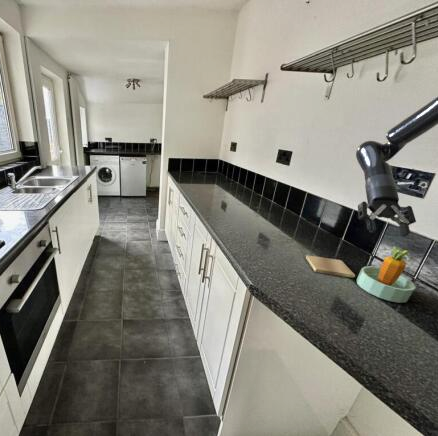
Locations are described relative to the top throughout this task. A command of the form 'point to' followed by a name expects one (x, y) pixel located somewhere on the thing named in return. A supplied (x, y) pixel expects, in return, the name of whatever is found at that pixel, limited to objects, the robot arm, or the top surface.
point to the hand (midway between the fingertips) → (388, 233)
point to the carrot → (392, 267)
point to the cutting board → (329, 266)
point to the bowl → (394, 293)
